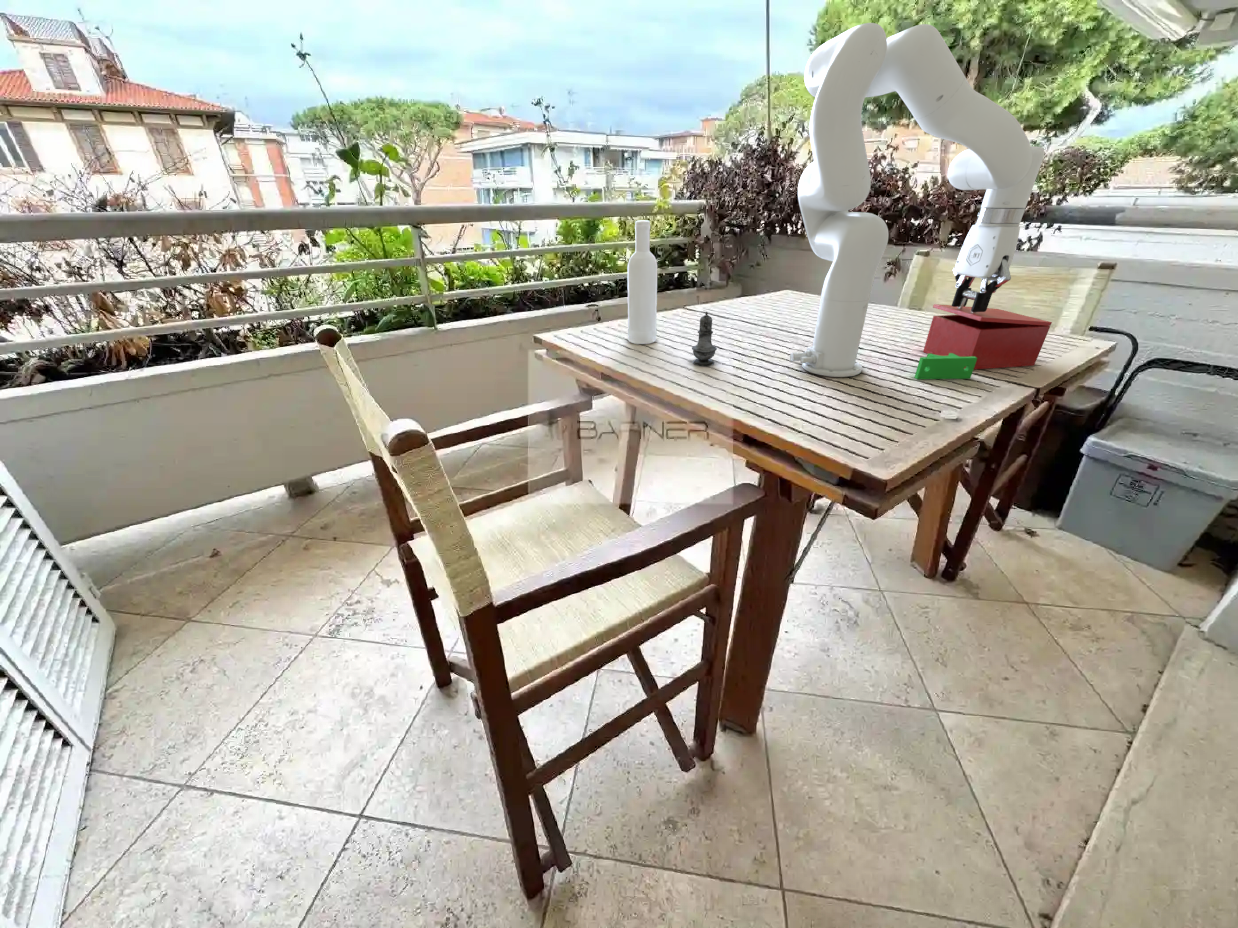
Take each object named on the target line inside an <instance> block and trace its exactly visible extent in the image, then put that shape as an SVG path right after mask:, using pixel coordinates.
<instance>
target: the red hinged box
mask: <svg viewBox="0 0 1238 928" xmlns="http://www.w3.org/2000/svg"><path fill="white" fill-rule="evenodd" d="M1050 328H1051V326H1044V325H1029V324H1015V323H1001V322H986V321H978V320H975V319H971V318H968V317H964V316H961V315H957V314H943V315H942V314H940V315H933V316H932V319H931V323H930V326H929V330H928V333H927V337H926V341H925V343H924V347H923V350H922V352H923V353H924V354H927V355H928V353H932V354H934V355H940V356H948V355H949V353H953V354H955V355H957V356H959V357H969V356H974V357H976V358H977V361H976V364H975V366H974V369H973V370H987V369H1002V368H1003V369H1005V368H1018V367H1031V366H1034V367H1035V365H1036V362H1037V360H1038V357H1039V355H1040V353H1041V350H1042V348H1043V345H1044V343H1045V341H1046V339H1047V336H1048V334H1049V331H1050ZM965 368H966V367H965ZM965 368H964V369H965Z"/></svg>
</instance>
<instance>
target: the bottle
mask: <svg viewBox="0 0 1238 928" xmlns="http://www.w3.org/2000/svg"><path fill="white" fill-rule="evenodd" d="M634 223H635V225H634V229H635V230H634V231H635V232H634V235H635V238H634V239H635V240H634V241H635V243H634V245H635V251H634V252H633V253H632V255H631V256H630V257H629V259H628V262H627V340H628V342H629V343H631V344H635V345H648V344H653V343H655V342H656V341H657V310H658V308H657V307H658V261H657V259H656V256H655V255H654V254H653V253H652V252H651V251H650V250H651V249H650V247H651V246H650V245H651V243H650V241H651V222H650V219H649V220H647V219H645V220H644V219H642V220H635V222H634Z"/></svg>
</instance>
